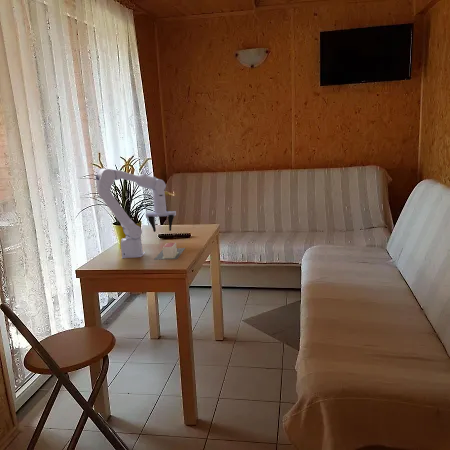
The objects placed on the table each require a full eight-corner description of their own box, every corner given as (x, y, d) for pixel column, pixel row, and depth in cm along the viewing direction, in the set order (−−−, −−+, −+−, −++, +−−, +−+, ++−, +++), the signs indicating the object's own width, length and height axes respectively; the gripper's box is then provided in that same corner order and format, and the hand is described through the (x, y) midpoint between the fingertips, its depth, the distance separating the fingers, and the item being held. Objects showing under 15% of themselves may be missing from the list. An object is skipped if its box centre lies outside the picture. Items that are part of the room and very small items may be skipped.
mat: (153, 260, 202) (153, 259, 202) (163, 249, 219) (163, 248, 219) (177, 259, 200) (177, 258, 200) (185, 248, 218) (185, 247, 218)
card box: (167, 253, 211) (166, 242, 210) (177, 252, 210) (176, 242, 209) (163, 257, 203) (162, 247, 202) (173, 257, 202) (172, 246, 201)
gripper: (143, 206, 210) (146, 233, 213) (173, 204, 210) (176, 231, 213) (145, 203, 217) (148, 230, 220) (175, 201, 217) (177, 228, 220)
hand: (162, 231), depth 217 cm, fingers open, 7 cm apart
